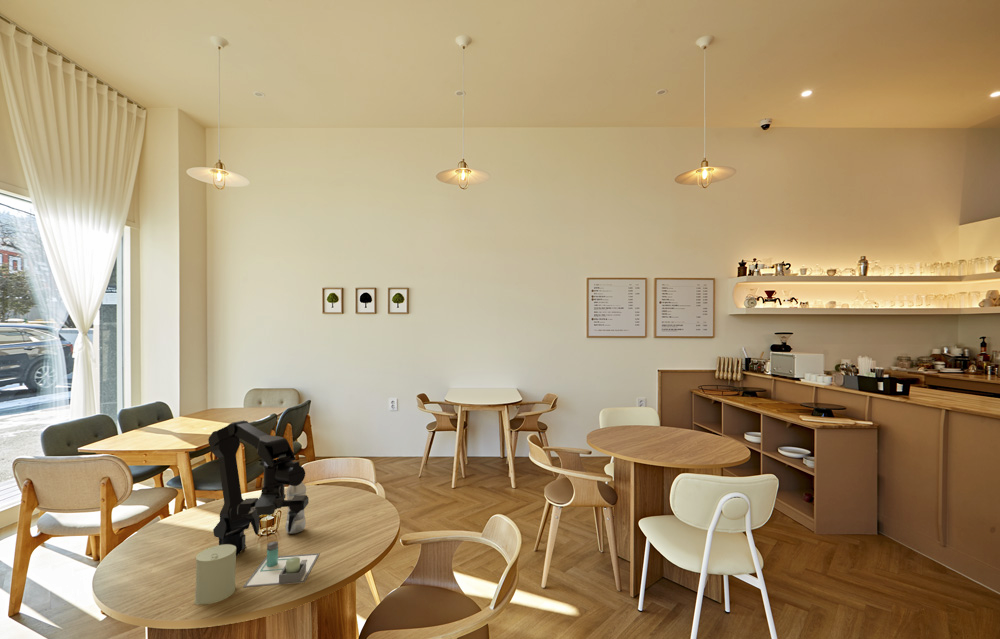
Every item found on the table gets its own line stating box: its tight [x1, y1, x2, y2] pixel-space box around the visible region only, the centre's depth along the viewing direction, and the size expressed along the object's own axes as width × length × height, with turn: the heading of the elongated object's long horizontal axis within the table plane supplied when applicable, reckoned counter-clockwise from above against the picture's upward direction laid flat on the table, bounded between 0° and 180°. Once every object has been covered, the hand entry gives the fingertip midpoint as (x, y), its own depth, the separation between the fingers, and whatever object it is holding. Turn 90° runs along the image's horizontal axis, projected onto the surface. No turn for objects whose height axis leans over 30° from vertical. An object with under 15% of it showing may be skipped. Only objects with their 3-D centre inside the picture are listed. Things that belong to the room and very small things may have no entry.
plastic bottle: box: [284, 481, 307, 535], centre depth 153 cm, size 6×7×20 cm
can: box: [194, 544, 237, 606], centre depth 115 cm, size 9×9×12 cm
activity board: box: [242, 553, 320, 588], centre depth 127 cm, size 16×16×3 cm
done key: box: [286, 557, 300, 574], centre depth 122 cm, size 4×4×3 cm
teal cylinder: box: [266, 540, 279, 567], centre depth 129 cm, size 3×3×6 cm
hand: (273, 533), depth 130 cm, fingers open, 9 cm apart
